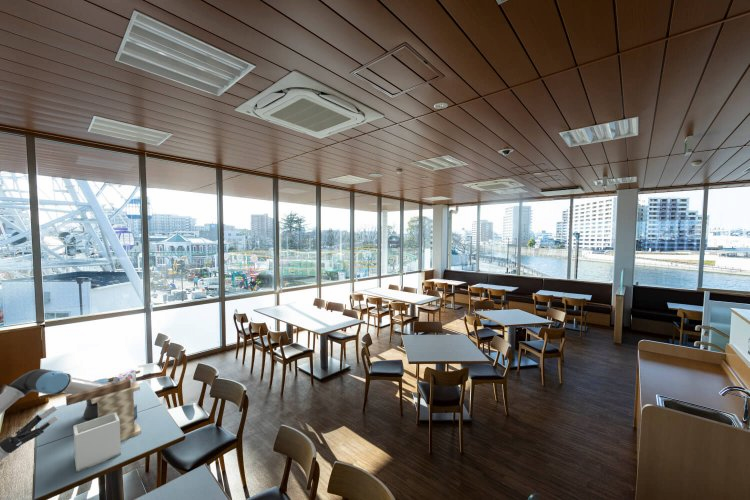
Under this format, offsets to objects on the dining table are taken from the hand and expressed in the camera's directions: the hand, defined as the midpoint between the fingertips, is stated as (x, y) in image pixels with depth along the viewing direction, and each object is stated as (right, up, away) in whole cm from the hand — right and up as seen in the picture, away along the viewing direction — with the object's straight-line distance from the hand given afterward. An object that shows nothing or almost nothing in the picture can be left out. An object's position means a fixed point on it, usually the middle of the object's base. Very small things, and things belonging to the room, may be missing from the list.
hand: (56, 412), depth 167 cm
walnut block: (+12, +3, +13) cm, 18 cm away
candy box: (-21, -24, +72) cm, 79 cm away
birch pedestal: (+17, -26, +20) cm, 37 cm away
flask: (+12, -26, +38) cm, 47 cm away
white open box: (+20, -27, +3) cm, 34 cm away
